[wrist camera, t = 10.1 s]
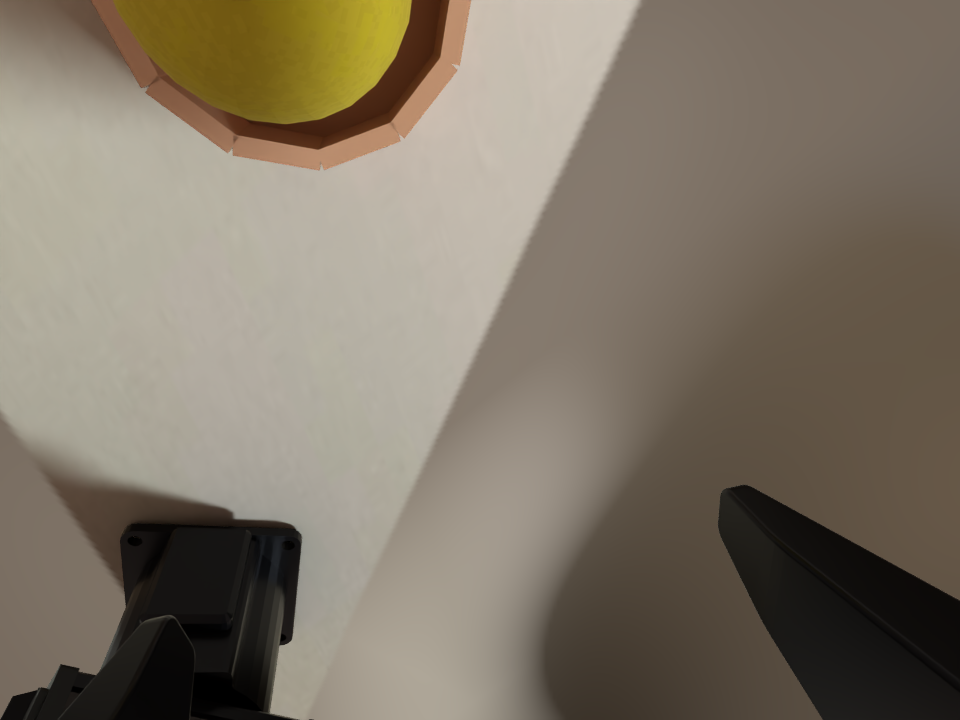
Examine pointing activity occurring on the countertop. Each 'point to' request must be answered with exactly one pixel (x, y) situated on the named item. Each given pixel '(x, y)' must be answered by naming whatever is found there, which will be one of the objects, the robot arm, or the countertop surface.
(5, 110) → the countertop surface
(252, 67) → the lemon
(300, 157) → the dish
